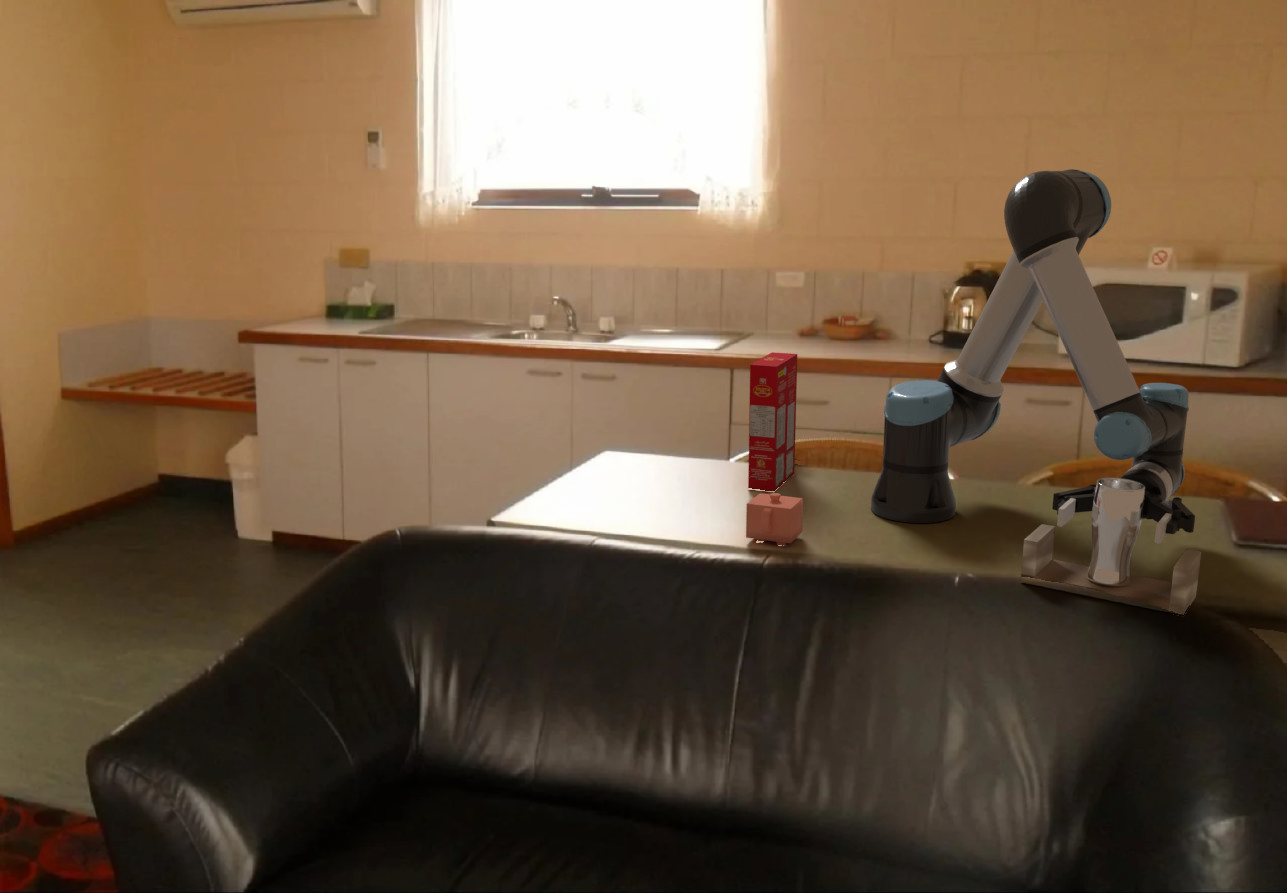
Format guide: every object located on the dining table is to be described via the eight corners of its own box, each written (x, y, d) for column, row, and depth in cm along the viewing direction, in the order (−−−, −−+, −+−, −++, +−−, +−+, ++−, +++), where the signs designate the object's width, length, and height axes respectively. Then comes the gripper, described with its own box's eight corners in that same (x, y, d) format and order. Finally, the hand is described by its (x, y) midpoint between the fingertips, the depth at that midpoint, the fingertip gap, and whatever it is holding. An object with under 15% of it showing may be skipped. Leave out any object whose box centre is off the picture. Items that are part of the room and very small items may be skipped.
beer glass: (1107, 590, 166) (1121, 492, 162) (1072, 574, 172) (1085, 479, 168) (1143, 584, 168) (1157, 488, 165) (1107, 568, 175) (1120, 475, 171)
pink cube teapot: (807, 532, 198) (808, 486, 196) (786, 553, 187) (787, 505, 185) (764, 526, 201) (765, 481, 199) (741, 547, 191) (742, 500, 189)
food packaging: (769, 471, 236) (772, 352, 230) (794, 473, 234) (797, 353, 228) (748, 490, 223) (750, 364, 216) (774, 493, 221) (776, 366, 214)
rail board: (1020, 583, 173) (1024, 539, 172) (1038, 566, 181) (1041, 524, 179) (1183, 616, 160) (1189, 569, 159) (1196, 596, 168) (1201, 551, 166)
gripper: (1224, 527, 176) (1198, 566, 159) (1060, 500, 190) (1020, 534, 173) (1230, 480, 174) (1204, 515, 157) (1064, 457, 188) (1024, 487, 171)
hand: (1108, 525), depth 165 cm, fingers open, 13 cm apart
